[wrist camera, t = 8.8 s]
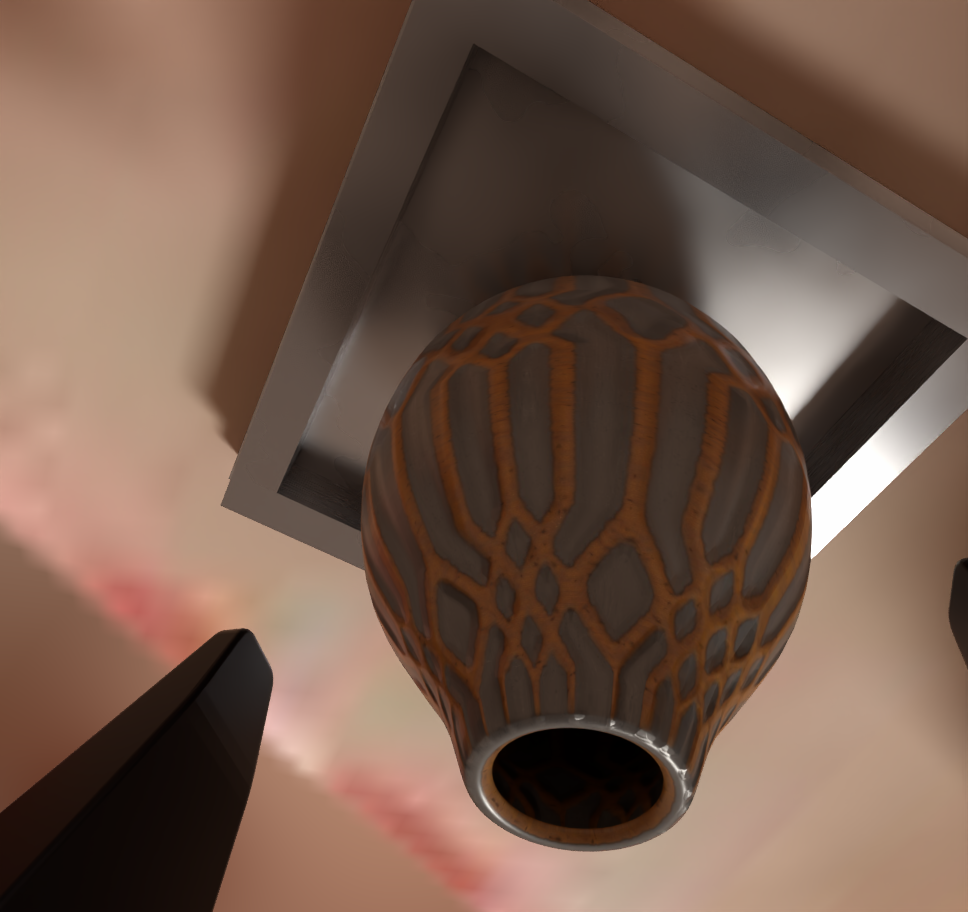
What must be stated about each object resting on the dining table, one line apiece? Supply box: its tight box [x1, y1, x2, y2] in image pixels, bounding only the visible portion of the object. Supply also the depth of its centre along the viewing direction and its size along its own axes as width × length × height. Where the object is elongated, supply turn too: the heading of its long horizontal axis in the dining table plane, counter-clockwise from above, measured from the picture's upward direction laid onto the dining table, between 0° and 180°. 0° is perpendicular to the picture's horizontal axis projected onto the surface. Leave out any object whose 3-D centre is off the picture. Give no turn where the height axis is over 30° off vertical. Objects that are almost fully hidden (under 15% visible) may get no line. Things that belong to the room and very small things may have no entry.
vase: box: [361, 275, 813, 851], centre depth 11 cm, size 7×7×9 cm
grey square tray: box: [221, 0, 968, 570], centre depth 15 cm, size 12×12×2 cm
